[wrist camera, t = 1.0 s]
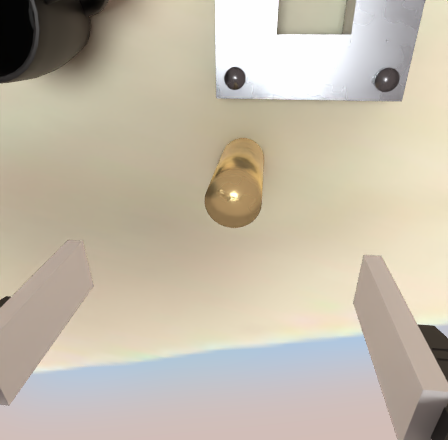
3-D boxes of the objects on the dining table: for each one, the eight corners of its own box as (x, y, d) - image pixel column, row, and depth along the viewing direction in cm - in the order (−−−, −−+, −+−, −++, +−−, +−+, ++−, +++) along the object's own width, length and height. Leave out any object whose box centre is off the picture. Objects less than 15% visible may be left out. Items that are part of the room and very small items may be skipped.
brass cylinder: (222, 177, 34) (205, 226, 25) (221, 137, 32) (203, 174, 23) (262, 179, 33) (260, 229, 25) (264, 138, 32) (263, 176, 23)
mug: (160, 51, 29) (116, 56, 21) (38, 80, 31) (-45, 95, 23) (129, -68, 26) (60, -121, 17) (-6, -26, 28) (-124, -54, 20)
